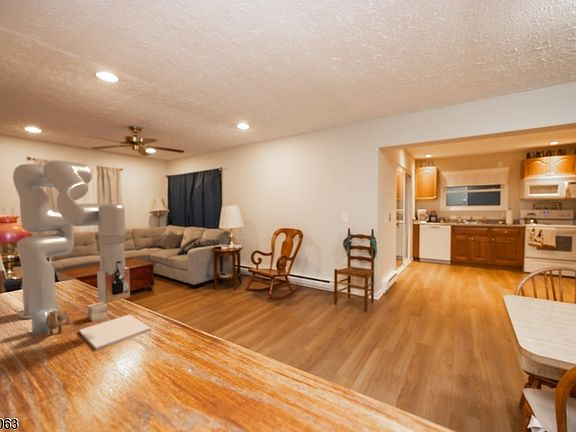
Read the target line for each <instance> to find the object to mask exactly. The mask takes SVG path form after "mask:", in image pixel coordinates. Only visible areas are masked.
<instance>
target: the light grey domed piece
mask: <svg viewBox="0 0 576 432" xmlns="http://www.w3.org/2000/svg"><path fill="white" fill-rule="evenodd" d="M48 315H49V310H48V309H44V310H38V311H35V312H33V313H32V318H31V328H32V329H31V330H32V335H33V336H34V335H35V336H38V335H43V334H46V333H49V329H48V326H47V322H46V321H47V317H48Z"/></svg>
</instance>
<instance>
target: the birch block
mask: <svg viewBox="0 0 576 432" xmlns="http://www.w3.org/2000/svg"><path fill="white" fill-rule="evenodd" d="M108 315H109V312H108V303H103V302H100V301H99V302H97V303H93V304H92V303H91V304H88V305H87V317H88V319H89V320H90V321H91V322H96V321H98V320H103V319H105V318H106V319H107V318H108Z"/></svg>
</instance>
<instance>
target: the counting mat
mask: <svg viewBox="0 0 576 432" xmlns="http://www.w3.org/2000/svg"><path fill="white" fill-rule="evenodd" d="M148 330H150V331H151V330H152V327H150V326H148V325H147V324H145V322H143V321H141V320H139V319H138V318H136V317H135V316H133V315H132V314H128V315H127V314H126V315H124V316H120V317H117V318H114V319H111V320H107V321H103V322H100V323H97V324H94V325H91V326H88V327H87V326H86V327H84V328H81V329H79V330H78V332H79V334H80V335H81V336H82V337H83V338H84V339H85V340H86V341H87V342H88V343H89V344H90V345H91V346H92V347H93V348H94V349H95V350H96V351H98V350H101V349H103V348H106V347H108V346H112V345H115V344H117V343H119V342H122V341H125V340H127V339H128V340H129V339H131V338H133V337H136V336H138V335H141V333H142V334H144V333H147V332H149V331H148ZM146 331H147V332H146ZM143 332H144V333H143Z"/></svg>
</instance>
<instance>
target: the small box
mask: <svg viewBox="0 0 576 432" xmlns="http://www.w3.org/2000/svg"><path fill="white" fill-rule="evenodd" d="M115 273H118V272H114V274H115ZM96 275H97V277H96V280H97V281H96V282H97V283H96V284H97V301H98V302H99V303H100V302H103V303H106V304H109V303H112V302H115V301H121V300H123V299H128V298H130V297H131V291H130V290H131V287H130V285H131V284H130V283H131V282H130V281H131V280H130V267H126V266H125V272H124V276H123V293H121V294H117V295H112V283H113V279H112V274H111V275H110V276H109V275H107V272H106V271H103V270H100V269H99V270H97V271H96ZM117 276H118V275H117ZM117 276H115V278H116V277H117Z"/></svg>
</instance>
